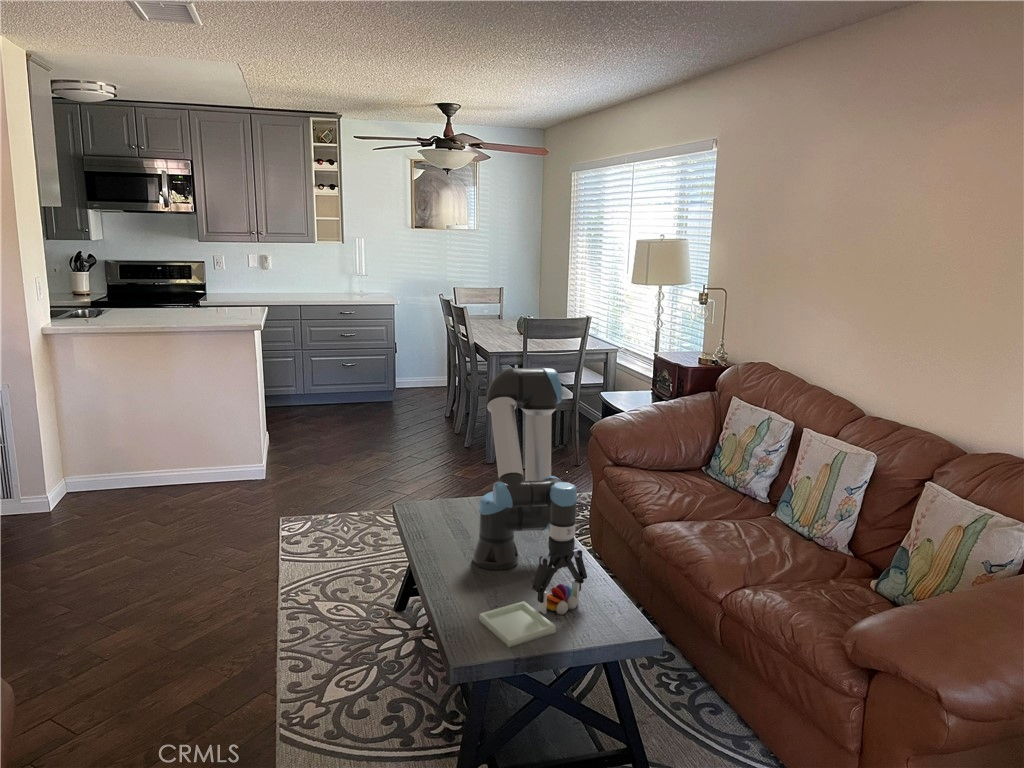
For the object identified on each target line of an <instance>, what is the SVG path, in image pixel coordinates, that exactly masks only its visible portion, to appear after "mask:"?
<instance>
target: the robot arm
mask: <svg viewBox="0 0 1024 768" xmlns="http://www.w3.org/2000/svg"><path fill="white" fill-rule="evenodd" d="M562 399H563V389H562V383H561V378H560V376H559V373H558V371H557V370H556V369H554V368H549V367H548V368H547V367H523V368H522V367H521V368H520V367H518V368H517V367H511V368H506V369H504V370H502V371H501V372H499V373H498V374H496V376H495V377H494V379H493V380H492V381H491V383H490V384H489V387H488V389H487V393H486V409H487V411H488V412H489V413H490V414H491V416H490V417H491V424H492V433H493V441H494V442H493V443H494V449H495V457H496V458H495V459H496V466H497V475H498V481H496V482H494V483H493V486H492V491H490V492H487V493H485V494H484V495H482V497H481V498H480V502H479V508H478V512H479V522H478V524H479V525H478V526H479V528H478V529H479V530H478V532H479V533H478V540H477V543H476V546H475V549H474V551H473V559H472V560H473V563H474V565H476V566H477V567H479V568H480V569H481V568H482V569H485V570H490V571H504V570H508V569H511V568H514V567H515V566H517V565H518V564H519V561H520V560H519V551H518V548H517V545H516V542H515V532H528V531H529V532H530V531H533V532H534V531H541V532H542V531H546V530H547V531H548V535H549V536H548V544H547V545H548V552H549V553H548V555H547V556H542V555H540V557H539V559H538V566H537V569H536V572H535V575H534V579H533V582H532V585H531V589H532V590H533V591H535V592H536V594H537V598H536V599H537V602H538V611H540V612H541V613H542V614H544V615H546V614H547V610H548V609H547V594H548V592H547V591H546V590H547V588H548V586H549V585H550V583H551V581H552V579H553V576H554V575H555V574H556V573H557V572H558V570H559V569H560V570H561V569H562V568H567V569H568V571H569V572H570V573H571V575H572V577H573V579H572V580H571V590H572V596H575V597H576V599H577V605H579V603H580V602H579V601H580V592H581V591H582V584H583V583H584V582H585V580H587V579H588V573H587V571H586V567H585V563H584V560H583V550H581V549H580V548H578V547H575V544H576V543H575V542H576V539H575V538H576V537H575V536H576V520H577V502H578V491H577V490H578V489H577V486H576V485H575V484H573V483H571V482H565V481H562V480H561V479H560V478H558V477H557V476H554V475H552V414H553V413H554V412H555V411H556V410H557V405H558V404H560V403H562V401H563V400H562ZM518 404H520V409H521V410H522V412H524V413H525V454H524V455H525V462H524V465H525V466H524V470H525V471H524V470H523V463H522V456H521V454H522V453H521V447H520V439H519V431H518V426H517V425H518V424H517V419H516V412H515V411H516V409H517V407H518ZM524 472H525V473H524ZM524 474H525V475H524ZM572 559H574V561H575V564H574V562H573V560H572ZM575 565H576V566H575Z"/></svg>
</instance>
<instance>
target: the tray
mask: <svg viewBox="0 0 1024 768" xmlns="http://www.w3.org/2000/svg"><path fill="white" fill-rule="evenodd" d="M478 615H479V617H478V619H479V622H480V623H482V624H483V626H485V627H486V628H487V629H488V630H489V631H490V632H491V633H493V634H494V635H495V636H496V638H498V639H499V640H500V641H501V642H502V643H503V644H505V646H507V647H508V648H512V647H515V646H518V645H521V644H525V643H527V642H531V641H535V640H537V639H540V638H542V637H546V636H547V637H548V636H549V635H552V634H556V631H557V629H556V627H557V626H556V625H555V624H554V623H553V622H551V621H550V620H549V619H548V618H546V617H545V616H544V615H542V614H541V613H540V612H539V611H538V610H536V609H535V608H534V607H532V605H529V604H528V603H527V602H526V601H525V600H523V601H520V602H519V601H518V602H516V603H512V604H509V605H505V606H502V607H498V608H495V609H492V610H488V611H485V612H481V613H478Z"/></svg>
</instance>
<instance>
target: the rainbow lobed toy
mask: <svg viewBox="0 0 1024 768" xmlns="http://www.w3.org/2000/svg"><path fill="white" fill-rule="evenodd" d="M577 606H578V604H577V599H576V597H575V596H572V587H571V586H569V585H567V584H566V585H565V584H563V583H559V584H558V583H557V584H556V586H553V587H551V593H547V610H549V611H554V612H555V611H556V613H557V614H558V615H565V614H566V613H567V612H568V610H574V609H575V608H576V607H577Z"/></svg>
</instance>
